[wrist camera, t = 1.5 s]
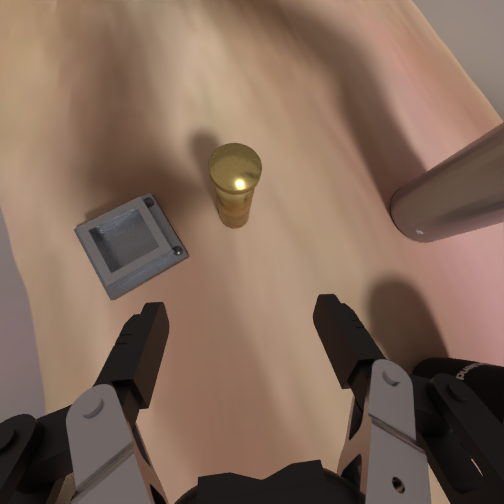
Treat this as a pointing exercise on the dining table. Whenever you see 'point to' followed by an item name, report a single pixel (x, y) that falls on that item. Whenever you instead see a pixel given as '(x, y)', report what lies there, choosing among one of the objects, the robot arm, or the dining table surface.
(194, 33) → the dining table surface
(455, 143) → the dining table surface
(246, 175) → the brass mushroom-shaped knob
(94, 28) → the dining table surface
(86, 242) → the square tray with knobs
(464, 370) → the mug
